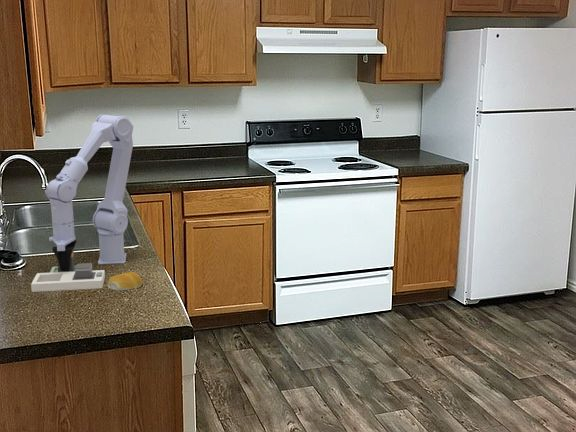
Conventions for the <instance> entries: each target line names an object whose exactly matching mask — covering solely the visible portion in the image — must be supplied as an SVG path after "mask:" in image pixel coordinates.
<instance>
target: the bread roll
mask: <svg viewBox="0 0 576 432" xmlns="http://www.w3.org/2000/svg"><path fill="white" fill-rule="evenodd" d="M142 286H143V279H142V277H141V276H140V275H139V273H137V272H135V271H134V272H133V271H129V272H123V273H119V274H115V275H112V276H110V278H109V279H108V281H107V287H108V289H110V290H113V291H116V292H117V291H118V292H123V291H124V292H125V291H129V290H133V289H139V288H141V287H142Z"/></svg>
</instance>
